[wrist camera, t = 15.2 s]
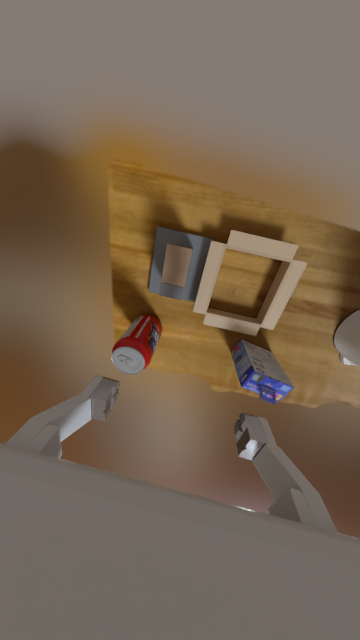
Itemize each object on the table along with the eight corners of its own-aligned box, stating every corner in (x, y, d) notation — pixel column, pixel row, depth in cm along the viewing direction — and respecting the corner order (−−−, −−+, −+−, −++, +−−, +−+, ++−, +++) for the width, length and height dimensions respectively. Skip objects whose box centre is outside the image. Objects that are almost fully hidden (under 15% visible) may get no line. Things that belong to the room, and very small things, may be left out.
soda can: (140, 307, 43) (114, 337, 29) (167, 321, 44) (154, 355, 30) (130, 331, 46) (103, 367, 33) (156, 342, 47) (140, 382, 33)
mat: (213, 239, 35) (213, 239, 34) (196, 301, 41) (196, 302, 40) (158, 226, 35) (157, 226, 34) (149, 290, 41) (148, 291, 40)
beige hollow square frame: (303, 248, 34) (314, 249, 31) (263, 331, 43) (268, 338, 39) (213, 227, 34) (215, 226, 31) (190, 315, 42) (190, 321, 39)
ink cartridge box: (229, 353, 46) (242, 396, 33) (239, 338, 44) (258, 377, 31) (260, 366, 47) (284, 413, 34) (272, 351, 45) (303, 396, 32)
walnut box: (193, 248, 35) (192, 249, 28) (184, 289, 39) (181, 300, 32) (173, 243, 35) (167, 243, 28) (165, 285, 39) (158, 294, 31)
